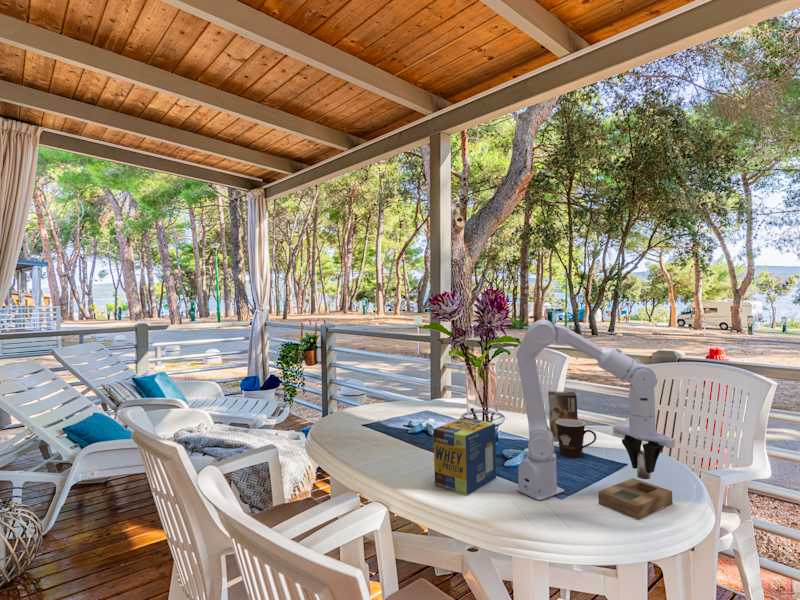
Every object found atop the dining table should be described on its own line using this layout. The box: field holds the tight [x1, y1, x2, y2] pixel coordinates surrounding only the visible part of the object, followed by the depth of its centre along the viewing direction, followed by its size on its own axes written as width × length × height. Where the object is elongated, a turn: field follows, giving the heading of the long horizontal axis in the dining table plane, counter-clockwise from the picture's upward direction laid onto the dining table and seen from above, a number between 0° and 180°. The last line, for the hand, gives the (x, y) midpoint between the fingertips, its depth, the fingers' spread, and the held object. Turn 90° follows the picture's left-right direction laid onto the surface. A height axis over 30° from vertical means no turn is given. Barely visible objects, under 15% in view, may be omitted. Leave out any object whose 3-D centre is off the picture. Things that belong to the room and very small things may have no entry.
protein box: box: [433, 417, 497, 496], centre depth 131 cm, size 10×15×16 cm
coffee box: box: [547, 390, 579, 442], centre depth 166 cm, size 9×6×16 cm
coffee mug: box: [556, 419, 597, 459], centre depth 149 cm, size 12×9×10 cm
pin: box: [636, 449, 652, 480], centre depth 117 cm, size 3×3×6 cm
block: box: [597, 477, 673, 520], centre depth 115 cm, size 14×10×3 cm
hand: (643, 469), depth 117 cm, fingers closed on pin, 3 cm apart
